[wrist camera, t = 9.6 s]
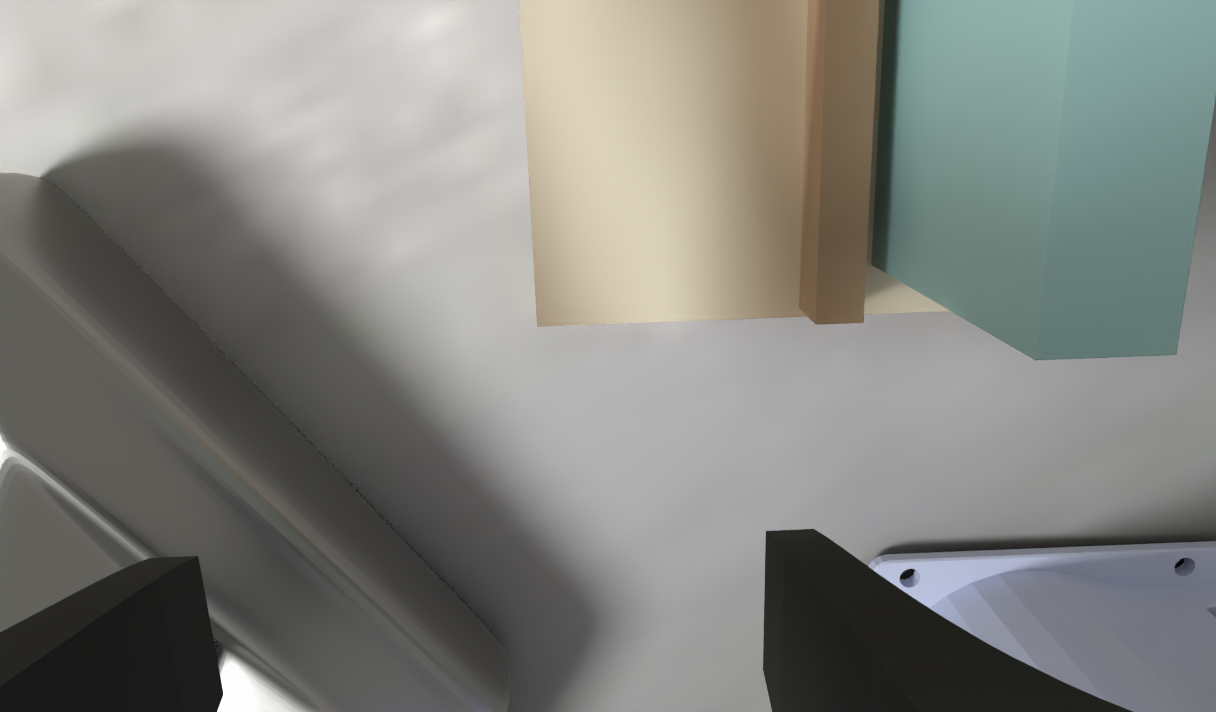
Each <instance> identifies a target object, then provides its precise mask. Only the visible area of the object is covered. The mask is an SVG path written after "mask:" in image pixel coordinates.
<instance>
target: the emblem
mask: <svg viewBox="0 0 1216 712" xmlns="http://www.w3.org/2000/svg"><path fill="white" fill-rule="evenodd" d="M184 556H198V557H199V563H200V568H201V573H202V579H203V584H204V590H205V595H206V601H207V606H208V612H209V617H210V623H211V628H212V634H213V639H215V640H216V641H218V642H219V643H220V645H219V648H218V650H217V653H216V655H217V661H218V666H219V672H220V677H221V683H222V688H223V694H224V695H223V697H222V700H221V703H220V705H219V708H218V711H217V712H507V710H508V706H509V701H510V695H511V671H510V666H509V661H508V658H507V656H506V654H505V651H504V650H503V648H502V646H501V645H500V644H499V642H498V641H497V640H496V638H495V637H494V636H493V634H492V633H491V632H490V631H489V630H488V629H487V627H486V626H485V625H484V624H483V623H482V622H481V621H480V620H479V619H478V618H477V617H476V616H475V614H474V613H473V612H472V611H471V610H470V609H469V608H468V607H467V606H466V605H465V604H464V603H463V602H462V601H461V600H460V599H459V598H458V597H457V596H456V594H455V593H454V592H453V591H452V590H451V589H450V588H449V587H448V586H447V585H446V584H445V583H444V582H443V581H442V580H441V579H440V578H439V577H438V576H437V575H436V574H435V573H434V572H433V571H432V570H431V568H430V567H429V566H428V565H427V564H426V563H425V562H424V561H423V560H422V559H421V558H420V557H419V556H418V555H417V554H416V553H415V552H414V551H413V550H412V549H411V548H410V547H409V546H408V545H407V544H406V543H405V542H404V540H403V539H402V538H401V537H400V536H399V535H398V534H397V533H396V532H395V531H394V530H393V529H392V528H391V527H390V526H389V525H388V524H387V523H386V522H385V521H384V520H383V519H382V518H381V517H380V516H379V515H378V513H377V512H376V511H375V510H374V509H373V508H372V507H371V506H370V505H369V504H368V503H367V502H366V501H365V500H364V499H363V498H362V497H361V496H360V495H359V494H358V493H357V492H356V491H355V490H354V489H353V488H352V487H351V485H350V484H349V483H348V482H347V481H346V480H345V479H344V478H343V477H342V476H341V475H340V474H339V473H338V472H337V471H336V470H335V469H334V468H333V467H332V466H331V465H330V464H329V463H328V462H327V461H326V460H325V459H324V457H323V456H322V455H321V454H320V453H319V452H318V451H317V450H316V449H315V448H314V447H313V446H312V445H311V444H310V443H309V442H308V441H307V440H306V439H305V438H304V437H303V436H302V435H301V434H300V433H299V432H298V431H297V429H296V428H295V427H294V426H293V425H292V424H291V423H290V422H289V421H288V420H287V419H286V418H285V417H284V416H283V415H282V414H281V413H280V412H279V411H278V410H277V409H276V408H275V407H274V406H273V405H272V403H271V402H270V401H269V400H268V399H267V398H266V397H265V396H264V395H263V394H262V393H261V392H260V391H259V390H258V389H257V388H256V387H255V386H254V385H253V384H252V383H251V382H250V381H249V380H248V379H247V378H246V377H245V375H244V374H243V373H242V372H241V371H240V370H239V369H238V368H237V367H236V366H235V365H234V364H233V363H232V362H231V361H230V360H229V359H228V358H227V357H226V356H225V355H224V354H223V353H222V352H221V351H220V350H219V349H218V348H217V346H216V345H215V344H214V343H213V342H212V341H211V340H210V339H209V338H208V337H207V336H206V335H205V334H204V333H203V332H202V331H201V330H200V329H199V328H198V327H197V326H196V325H195V324H194V323H193V322H192V321H191V320H190V319H189V318H188V317H187V316H186V315H185V314H184V313H183V312H182V311H181V310H180V309H179V308H178V307H177V305H176V304H175V303H174V302H173V301H172V300H171V299H170V298H169V297H168V296H167V295H166V294H165V293H164V292H163V291H162V290H161V289H160V288H159V287H158V286H157V285H156V284H155V283H154V282H153V281H152V280H151V279H150V278H149V277H148V276H147V275H146V274H145V273H144V272H143V271H142V270H141V269H140V268H139V267H138V266H137V265H136V264H135V263H134V262H133V261H132V260H131V258H130V257H129V256H128V255H127V254H126V253H125V252H124V251H123V250H122V249H121V248H120V247H119V246H118V245H117V244H116V243H115V242H114V241H113V240H112V239H111V238H110V237H109V236H108V235H107V234H106V233H105V232H104V231H103V230H102V229H101V228H100V227H99V226H98V225H97V224H96V223H95V222H94V221H93V220H92V219H91V218H90V217H89V216H88V215H87V214H86V213H85V212H84V211H83V210H82V209H81V208H80V207H79V206H77V205H76V204H75V203H74V202H73V201H72V200H71V199H70V198H69V197H68V196H67V195H66V194H64V193H63V192H62V191H61V190H60V189H58V188H57V187H56V186H54V185H53V184H51V183H50V182H48V181H45V180H43V179H41V178H38V177H34V176H30V175H26V174H18V173H0V632H2V631H4V630H6V629H8V628H9V627H11V626H13V625H15V624H17V623H19V622H21V621H23V620H25V619H26V618H28V617H30V616H32V615H34V614H36V613H38V612H40V611H42V610H43V609H45V608H47V607H49V606H51V605H53V604H55V603H57V602H59V601H61V600H62V599H64V598H66V597H68V596H70V595H72V594H74V593H76V592H78V591H79V590H81V589H83V588H85V587H87V586H89V585H91V584H93V583H95V582H97V581H99V580H101V579H103V578H105V577H107V576H109V575H111V574H113V573H115V572H117V571H119V570H122V569H124V568H126V567H128V566H131V565H133V564H135V563H138V562H141V561H143V560H146V559H148V558H161V557H184Z"/></svg>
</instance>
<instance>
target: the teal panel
mask: <svg viewBox="0 0 1216 712" xmlns="http://www.w3.org/2000/svg"><path fill="white" fill-rule="evenodd" d="M1215 98H1216V0H885V8H884V27H883V47H882V66H881V86H880V105H879V125H878V144H877V164H876V183H875V203H874V222H873V242H872V261H871V265H872V266H874V267H876V268H878V269H879V270H881V271H883V272H884V273H886V274H888V275H890V276H891V277H893V278H895V279H896V280H898V281H900V282H902V283H903V284H905V285H907V286H909V287H910V288H912V289H914V290H915V291H917V292H919V293H921V294H922V295H924V296H926V297H927V298H929V299H931V300H933V301H934V302H936V303H938V304H940V305H941V306H943V307H945V308H946V309H948V310H950V311H952V312H953V313H955V314H957V315H958V316H960V317H962V318H964V319H965V320H967V321H969V322H971V323H972V324H974V325H976V326H977V327H979V328H981V329H983V330H984V331H986V332H988V333H989V334H991V335H993V336H995V337H996V338H998V339H1000V340H1001V341H1003V342H1005V343H1007V344H1008V345H1010V346H1012V347H1014V348H1015V349H1017V350H1019V351H1020V352H1022V353H1024V354H1026V355H1027V356H1029V357H1031V358H1032V359H1034V360H1055V359H1082V358H1108V357H1135V356H1162V355H1176V354H1177V347H1178V340H1179V334H1180V327H1181V321H1182V314H1183V308H1184V301H1185V295H1186V288H1187V282H1188V275H1189V268H1190V262H1191V255H1192V249H1193V242H1194V236H1195V229H1196V223H1197V216H1198V210H1199V203H1200V196H1201V190H1202V183H1203V177H1204V170H1205V164H1206V157H1207V151H1208V144H1209V138H1210V131H1211V124H1212V118H1213V111H1214V105H1215Z"/></svg>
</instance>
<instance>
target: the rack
mask: <svg viewBox="0 0 1216 712" xmlns="http://www.w3.org/2000/svg"><path fill="white" fill-rule="evenodd" d="M884 8H885V0H519V10H520V28H521V46H522V63H523V81H524V99H525V116H526V134H527V152H528V170H529V187H530V205H531V223H532V241H533V258H534V276H535V294H536V311H537V326H564V325H591V324H618V323H645V322H672V321H699V320H727V319H754V318H781V317H809V318H810V319H811V320H812V321H813V322H814V323H815V324H841V323H863V321H864V314H889V313H916V312H943V311H950V310H948V309H946V308H945V307H943V306H941V305H940V304H938V303H936V302H934V301H933V300H931V299H929V298H927V297H926V296H924V295H922V294H921V293H919V292H917V291H915V290H914V289H912V288H910V287H909V286H907V285H905V284H903V283H902V282H900V281H898V280H896V279H895V278H893V277H891V276H890V275H888V274H886V273H884V272H883V271H881V270H879V269H878V268H876V267H874V266H872V265H871V261H872V242H873V222H874V203H875V183H876V164H877V144H878V125H879V105H880V86H881V66H882V47H883V27H884Z"/></svg>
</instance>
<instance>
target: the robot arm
mask: <svg viewBox="0 0 1216 712" xmlns="http://www.w3.org/2000/svg"><path fill="white" fill-rule="evenodd" d="M1183 558H1185V560H1184V562H1183V564H1182V565H1181V566H1179V567H1177V568H1174V567H1175V565H1176V563H1177V562H1178V561H1179V560H1180V559H1183ZM908 569H915V571H914V574H913V575H912V576H911V577H910V578H907V579H899V578H900V575H901V573H903V572H904V571H905V570H908ZM763 671H764V675H765V680H766V684H767V689H768V694H769V698H770V703H771V707H772V712H1216V541H1207V542H1182V543H1157V544H1132V545H1107V546H1083V547H1058V548H1033V549H1008V550H983V551H958V552H933V553H909V554H886V555H882V556H879V557H877V558H875V559H874V560H872V562H871V563H870V564H869V566H867V565H865V564H864V563H862V562H861V561H860V560H858V559H857V558H855V557H854V556H853V555H851V554H850V553H848V552H847V551H846V550H844V549H843V548H841V547H840V546H839V545H837V544H836V543H834V542H833V541H832V540H830V539H829V538H827V537H826V536H824V535H823V534H821V533H819V532H818V531H816V530H814V529H804V530H781V531H766V555H765V604H764V653H763ZM223 695H224V694H223V688H222V683H221V677H220V672H219V666H218V661H217V655H216V650H215V644H214V639H213V634H212V628H211V623H210V617H209V612H208V606H207V601H206V595H205V590H204V584H203V579H202V573H201V568H200V563H199V557H198V556H184V557H161V558H148V559H146V560H143V561H141V562H138V563H135V564H133V565H131V566H128V567H126V568H124V569H122V570H119V571H117V572H115V573H113V574H111V575H109V576H107V577H105V578H103V579H101V580H99V581H97V582H95V583H93V584H91V585H89V586H87V587H85V588H83V589H81V590H79V591H78V592H76V593H74V594H72V595H70V596H68V597H66V598H64V599H62V600H61V601H59V602H57V603H55V604H53V605H51V606H49V607H47V608H45V609H43V610H42V611H40V612H38V613H36V614H34V615H32V616H30V617H28V618H26V619H25V620H23V621H21V622H19V623H17V624H15V625H13V626H11V627H9V628H8V629H6V630H4V631H2V632H0V712H217V711H218V708H219V705H220V703H221V700H222V697H223Z"/></svg>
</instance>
